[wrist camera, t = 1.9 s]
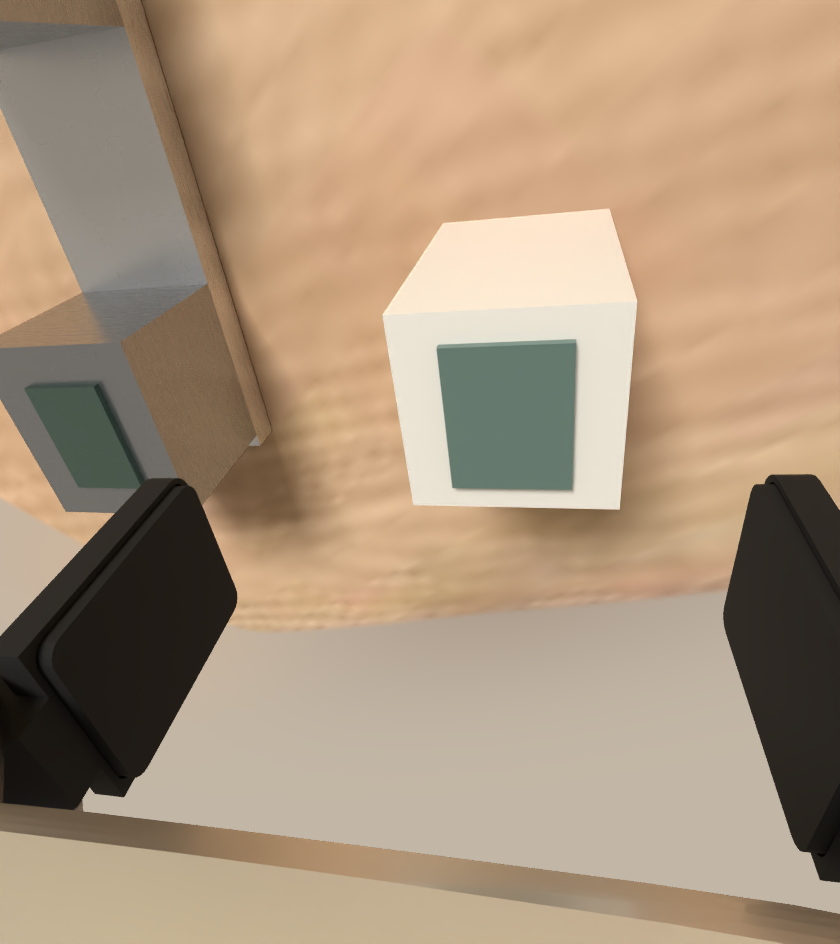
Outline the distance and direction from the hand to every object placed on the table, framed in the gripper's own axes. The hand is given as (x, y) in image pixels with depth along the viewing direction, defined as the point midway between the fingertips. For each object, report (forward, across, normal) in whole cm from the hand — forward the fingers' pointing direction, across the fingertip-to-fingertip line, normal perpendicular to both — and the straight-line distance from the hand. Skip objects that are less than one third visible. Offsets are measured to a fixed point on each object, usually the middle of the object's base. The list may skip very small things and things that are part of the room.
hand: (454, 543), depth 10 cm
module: (+12, -1, 0) cm, 12 cm away
